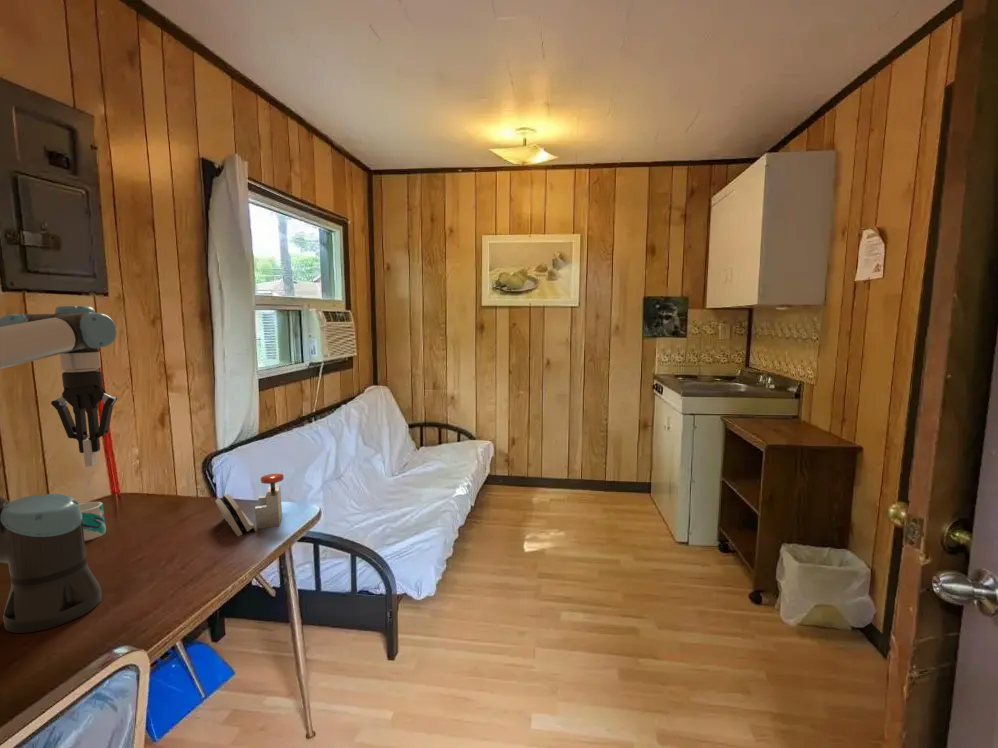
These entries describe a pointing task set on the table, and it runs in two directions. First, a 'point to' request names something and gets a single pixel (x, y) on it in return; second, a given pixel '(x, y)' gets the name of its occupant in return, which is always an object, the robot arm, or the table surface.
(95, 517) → the mug
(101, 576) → the table surface
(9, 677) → the table surface
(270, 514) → the valve body
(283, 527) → the table surface
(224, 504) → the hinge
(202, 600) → the table surface
